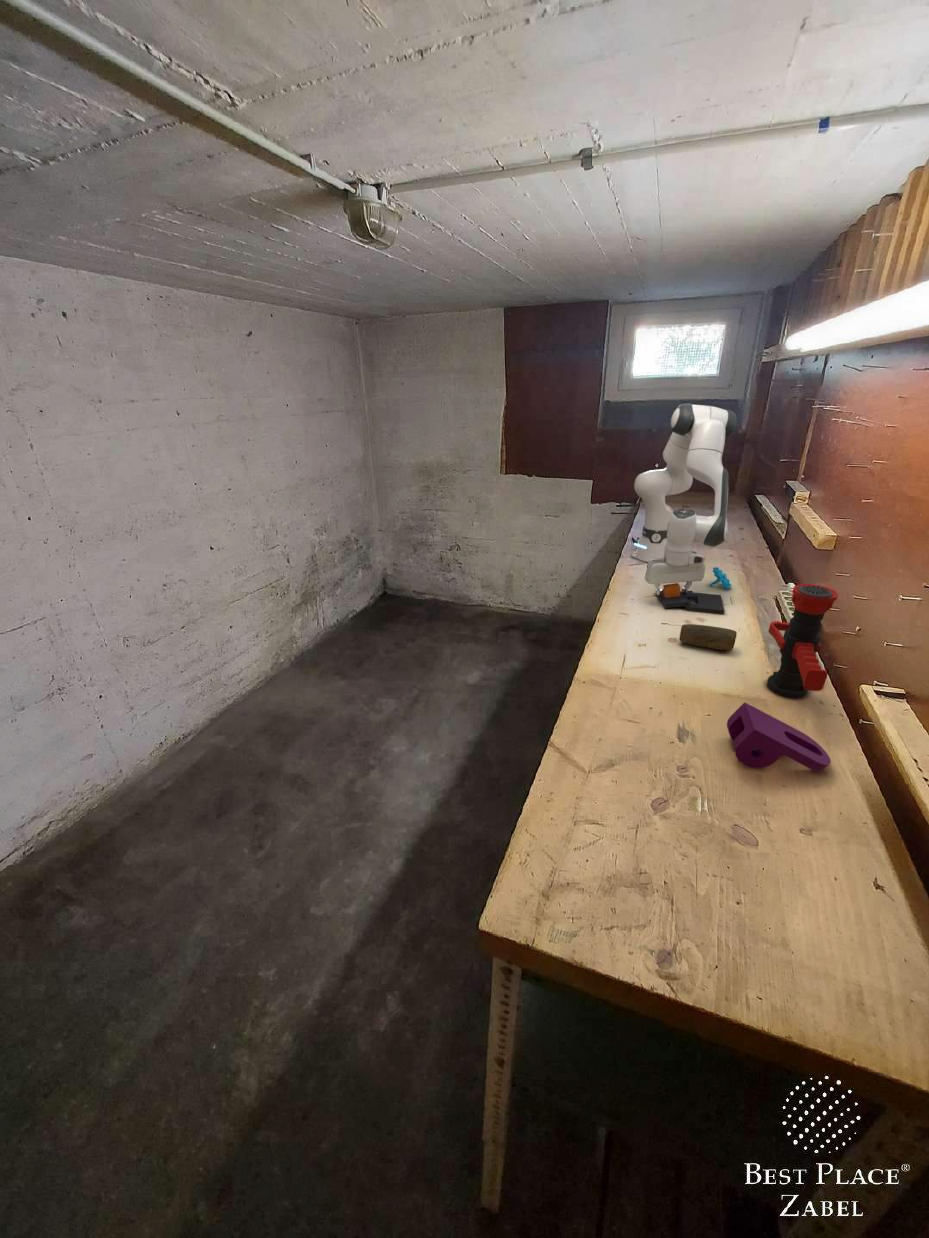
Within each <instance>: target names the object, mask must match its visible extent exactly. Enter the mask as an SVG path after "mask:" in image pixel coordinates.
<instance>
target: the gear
mask: <svg viewBox="0 0 929 1238" xmlns="http://www.w3.org/2000/svg"><path fill="white" fill-rule="evenodd" d="M712 573H713V575H714V577H715V578H716V579H715V580H714V581H711V583H709V586H710V587H712V586H714V585H715V584H717V583H721V584H720V585H721V586H722V587H723V588H725V589H726V590H731V589H732V583H731V581H730V579H729V578H727V573H726V572H723V570H722V569H720V568H719V567H718V566H714V567H712Z"/></svg>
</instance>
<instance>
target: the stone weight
mask: <svg viewBox="0 0 929 1238" xmlns="http://www.w3.org/2000/svg"><path fill="white" fill-rule="evenodd" d="M737 635H738V633H737V631H736V630H734V629H730V628H726V627H719V626H713V625H704V624H695V623H685V624H682V625H681V627H680V632H679V637H678V640H679V641H680V642H683V643H685V644H688V645H692V646H696V647H700V648H701V647H703V648H708V649H713V650H719V651H721V650H722V651H732V650H733V649H734V647H735V644H736V640H737Z"/></svg>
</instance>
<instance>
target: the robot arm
mask: <svg viewBox="0 0 929 1238" xmlns="http://www.w3.org/2000/svg"><path fill="white" fill-rule="evenodd" d="M737 423H738V418H737V414H736V413H735V412H734V411H733V410H730V409H727V408H726V409H724V408H720V407H717V406H713V405H702V404H692V403H681V404H679V405H678V406H677V407H676V408H675V409H674V412H673V413H672V415H671V419H670V429H671V432H672V433H671V435H670V437H669V439H668V440H667V444H666V445H665V447H664V450H663V451H662V458H663V460H664V461H663V462H665V463H666V466H665V467H664V468H662V469H651V470H647V471H643V472H641V473H639V474H638V475H637V476H636V478H635V480H634V484H633V489H634V492H635V493H636V494H637V496H638V497H640V498H641V499H642V502H643V504H644V511H645V512H644V513H645V514H644V515H645V516H644V525H643V527H642V529H641V531H642V532H641V535H640V536H637V537H636V539H635V537H634V536H631V540H632V541H633V545H634V546H636V549H635V550H634V551H633V552H632V553H631V558H634V559H638V560H639V561H642V562H645V563H647V564H646V571H645V575H644V580H645V582H646V583H647V584H648V585H654V587H655V595H656V594H657V595H662V592H663V589H662V588H660V587H661V585H666V584H674V583H678V584H680V583H685V585H684V586H682V587H681V589H680V591H681V592H682V593H687V592H688V591H689V589H690V588H691V586H692V585H693V583H694V582H701V581H702V580H704V578H705V572H706V565H705V562H706V557H705V556H703V554H701V553H699V552H696V551H693V544H698V545H703V546H707V547H713V548H715V547H717V546H720V545H722V544H723V543H724V542H725V541H726V539H727V537H728V534H729V524H728V511H729V493H730V492H729V491H730V477H729V476H730V475H729V471H728V469H726V468H725V467H724V466H723V454H724V449H725V445H726V444H725V442H726V440H728V439H729V438H730V437H732V435H733V433H734V431H735V430H736V427H737ZM694 479H696V480H697V481H699V482H701V483H703V484H706V485H707V486H710V487H711V488H712V489H713V491H714V506H713V507H714V510H713V515H711V516H707V515H698V514H697V513H696V511H695V510H693V509H691V508H678V509H675V510H673V508H672V507H671V506H670V505H668V504H666V496H673V495H679V494H682V493H685V492H687V491H688V490H690V489H691V487H692V485H693V482H694ZM657 595H656V596H657Z"/></svg>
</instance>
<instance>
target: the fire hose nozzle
mask: <svg viewBox="0 0 929 1238" xmlns="http://www.w3.org/2000/svg"><path fill="white" fill-rule="evenodd" d="M791 592H792V596H791V602H792V604H793V606H794V609H793V613H792V614H793V616H792V617H791V618H790V620H789V622H784V621H780V620H775V621H771V622H770V623H769V627H768V631H767V632H768V633H769V635H770V636H771V637H772V638H773V639H774V641H775V643H776V644H777V646H778V648H779V653H780V655H781V657H780V666H779V669H778V670H777V671H773V673H772V674H771V675H769V676H768V678H767V682H766V688H767V689H768V690H769V691H771V692H772V694H773V693H774V694H776V695H778V696H779V697H783V698H787V699H802V698H803V699H804V698H805V697H806V696H807V694H808V691H813V692H820V691H823V690H824V687H825V683H826V681H827V677H828V672H827V670H826V669H822V666H821V665H820V661H819V659H818V657H817V653H820V652H821V650H822V644H821V638H820V636H819V634H820V632H821V631H822V627H823V623H822V622H821V621H823V619H824V617H825V614H826V613H827V612H828V611H830V610H831V609H832V608H833V605H834V603H835V602H836V601H837V600H838V596H839V593H838V592H837V591H836V590H835V589H832V588H830V587H828V586H824V585H820V584H813V583H812V584H811V583H800V584H797V585H794V586H793V588H792V591H791ZM781 631H784V633H783V634H782V633H781Z"/></svg>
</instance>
